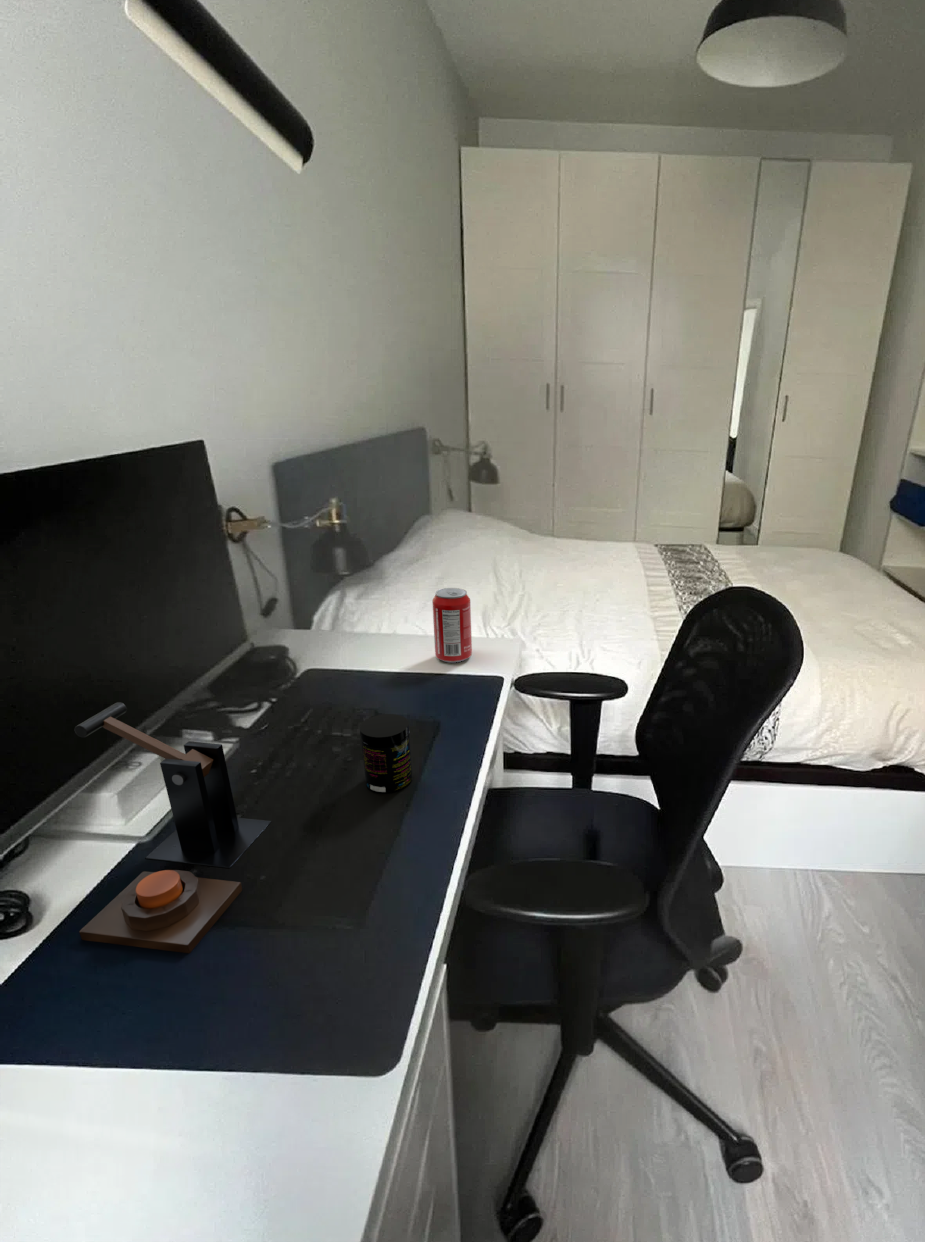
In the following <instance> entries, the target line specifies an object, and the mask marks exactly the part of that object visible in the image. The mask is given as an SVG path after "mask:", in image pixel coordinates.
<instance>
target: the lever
mask: <svg viewBox="0 0 925 1242" xmlns="http://www.w3.org/2000/svg"><path fill="white" fill-rule="evenodd" d="M127 710H128V708H127V706H126V705H125V704H124V703H123V702H120V701H117V702H115V703H114V704H111V705H109V706H108V707H106V708H105V709H103V710H101V711H99V712H98V713H97V714H94V715H93V716H91V717H89V718H88V719H86V720H84V721H83V722H81V723H79V724H77V725H76V726H74V732H75V734H76V736H77V737H80V738H86V737H88V736H89V735H91V734H93V733H95V732H96V731H98V730H99V729H101V728H102V729H105V730H107V731H109V732H111V733H113V734H114V735H117V736H119V737H121V738H123V739H125V740H127V741H129V742H131V743H133V744H135V745H137V746H139V747H141V748H143V749H145V750H146V751H149V752H151V753H153V754H155V755H157V756H159V757H161V758H163V759H164V760H165V759H175V760H186V761H196V762H201V766H202V771H203V775H204V777H205V776H206V775H207V774H209V771H210V768H211V765H212V763H213V759H212V758H210V757H208V756H206V755H204V754H202V753H200V752H198V751H196V750H194V749H192V750H191V751H189V752H188V753H187V754H185V752H182V751H180V750H179V749H176V748H175V747H172V746H170V745H168V744H166V743H164V742H162V741H160V740H158V739H156V738H154V737H152V736H150V735H148V734H147V733H144V732H142V731H140V730H138V729H136V728H134V727H132V726H130V725H129V724H126V723H125V722H123V721H121V720H118V719H117V718H119V717H121V716H122V715H124V714H125V713H127Z"/></svg>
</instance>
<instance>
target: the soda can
mask: <svg viewBox="0 0 925 1242" xmlns="http://www.w3.org/2000/svg"><path fill="white" fill-rule="evenodd" d="M434 593H435V594H434V597H433V598H432V604H431V605H432V621H433V623H432V624H433V638H434V642H433V643H434V654H435V658H437V659H438V660H440V661H442V662H444V663H448V664H456V662H457V663H461V661H462V662H464V661H466V660H468V659H469V658H471V656H472V654H473V643H472V642H473V639H472V610H471V609H472V607H471V598H470V597H469V595H468V594H467V593H468V592H467V590H465V589H463V588H459V587H445V588H444V587H443V588H440V589H438V590H436V591H435V592H434Z"/></svg>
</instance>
